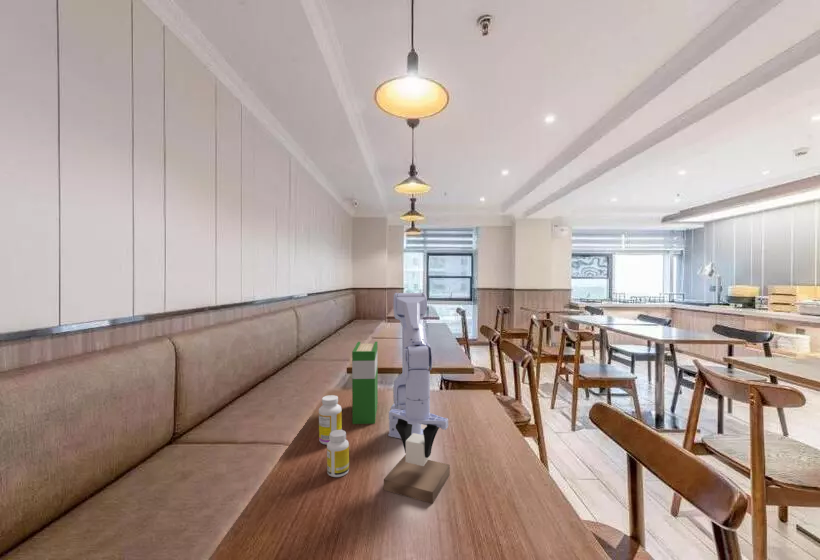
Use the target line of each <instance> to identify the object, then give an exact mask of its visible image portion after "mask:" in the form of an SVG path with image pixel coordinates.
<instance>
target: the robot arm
mask: <svg viewBox="0 0 820 560" xmlns="http://www.w3.org/2000/svg"><path fill="white" fill-rule="evenodd" d="M427 298H428V297H427V294H426V293H425V292H395V293H394V294H393V303H392V304H393V316H394V319H395V320H397V321H399V322H400V324H401V333H402V334H401V337H402V338H401V339H402V340H401V342H402V343H401V344H402V346H401V353H402V355H401V357H402V363H401V365H402V369H401V370H402V373H400V374H399V375H398V376H397V377H395V378H394V381H393V388H392V389H393V390H392V391H393V396H392V397H393V404H392V405H391V407H390V410H389V411H388V421H389V422H388V430H389V431H388V435H387V436H388V437H391V438H396V439H401V441H402V445H403V448H404V453H405V454H406V440H407V439H408V438H409V437H410V436H411V435H412V434H413V433H416V434H421V435H424V441H425V457H426V458H428V457H429V456H430V457H431V455H432V454H431V453H432V449H433V444H434V441H435V439H436V435H437V434H438V431H439V429H440V428H441V430H445V431H446V430H447V429H448V427H449V418H447V417H443V416H439V415H437V414H434V413H431V412H430V411H431V408H430V407H431V406H430V405H431V401H430V400H431V399H430V398H431V397H430V396H431V392H430V391H431V379H430V377H431V375H430V374H431V371H432V368H433V352H432V346H431V345H430V343H429V342H428V338H427V332H426V329H425V327H424V326H423V325H422V324H421V320H423V319H424V317H425V315H426V312H427V309H428V299H427ZM422 425H423V426H426V427H425V428H422Z"/></svg>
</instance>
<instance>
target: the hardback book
mask: <svg viewBox="0 0 820 560" xmlns="http://www.w3.org/2000/svg"><path fill="white" fill-rule="evenodd" d="M378 357H379V354H378V341H374V343H361V341H357V343H356V344H355V346H354V348H353V350H352V352H351V363H352V364H351V366H352V369H351V375H352V376H351V377H352V380H351V381H352V382H351V383H352V384H351V387H352V388H351V389H352V390H351V395H352V396H351V397H352V400H351V401H352V402H351V403H352V405H351V407H352V410H351V411H352V413H351V414H352V423H351V424H352V425H371V424H372V425H374V424H376V419H377V412H378V405H377V404H378V403H379V402H378V401H379V399H378V398H379V397H378V394H379V393H378V392H379V391H378V390H379V389H378V388H379V387H378V383H379V382H378V379H379V378H378V371H379V369H378V366H379V365H378V364H379V363H378V361H379V360H378Z"/></svg>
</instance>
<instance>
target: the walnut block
mask: <svg viewBox="0 0 820 560" xmlns="http://www.w3.org/2000/svg"><path fill="white" fill-rule="evenodd" d="M450 465H451V464H450V463H449V464H447V463H445V462H444V463H443V462H439V461H435V460H430V459H428V461H427V462H426V463H425V465H424V466H420V465H416V464H412V463H408V462H406V454H405V455H404V456H403V457H402V458H401V459H400V460H399V461H398V462H397V464H396V465H395V466H394V467H393V468H392V469H391V470H390V472H388V474H387V475H385V477H384V478H383V490H384V491H386V492H390V493H394V494H398V495H401V496H404V497H407V498H411V499H414V500H417V501H418V500H419V501H421V500H422V502H425V503H428V504H434V503H435V501H436V499H437V497H439V496H438V495H439V494H440V492H441V491H442V489H443V487H444V486H445V484H446V482H447V480H448V478H449V476H450V474H451V471H450V469H451V467H450Z"/></svg>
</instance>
